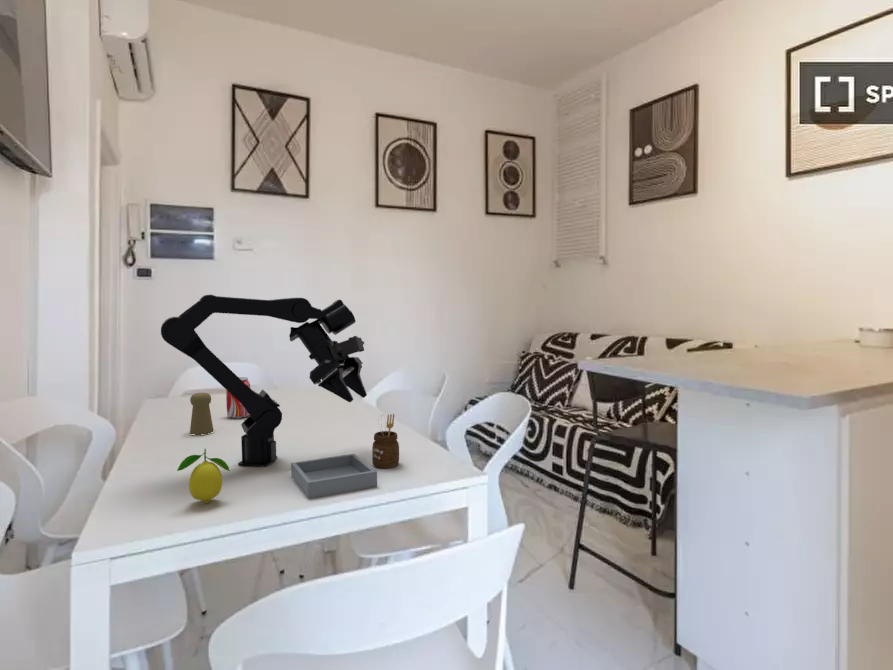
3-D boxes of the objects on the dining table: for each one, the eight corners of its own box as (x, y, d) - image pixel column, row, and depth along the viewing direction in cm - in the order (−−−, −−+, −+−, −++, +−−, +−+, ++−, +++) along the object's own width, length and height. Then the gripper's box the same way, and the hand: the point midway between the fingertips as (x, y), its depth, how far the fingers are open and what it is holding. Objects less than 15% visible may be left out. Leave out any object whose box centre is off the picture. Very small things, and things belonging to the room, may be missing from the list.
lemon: (178, 508, 94) (176, 452, 93) (198, 496, 100) (196, 443, 99) (213, 510, 93) (212, 454, 92) (231, 498, 99) (230, 445, 98)
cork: (184, 434, 144) (183, 394, 144) (199, 429, 150) (198, 390, 149) (203, 436, 143) (202, 395, 142) (218, 430, 149) (217, 391, 148)
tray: (308, 498, 98) (307, 482, 98) (291, 477, 110) (291, 462, 110) (377, 486, 105) (377, 471, 105) (354, 467, 117) (354, 453, 117)
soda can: (227, 415, 169) (226, 377, 168) (251, 413, 171) (250, 376, 170) (225, 419, 162) (224, 380, 161) (250, 418, 164) (249, 379, 163)
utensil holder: (392, 459, 123) (392, 407, 122) (404, 466, 117) (403, 412, 116) (368, 463, 120) (368, 410, 119) (378, 470, 114) (378, 415, 114)
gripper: (329, 322, 114) (372, 381, 112) (359, 324, 132) (396, 374, 130) (291, 354, 115) (333, 412, 113) (325, 351, 134) (362, 401, 132)
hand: (358, 398), depth 122 cm, fingers open, 9 cm apart
